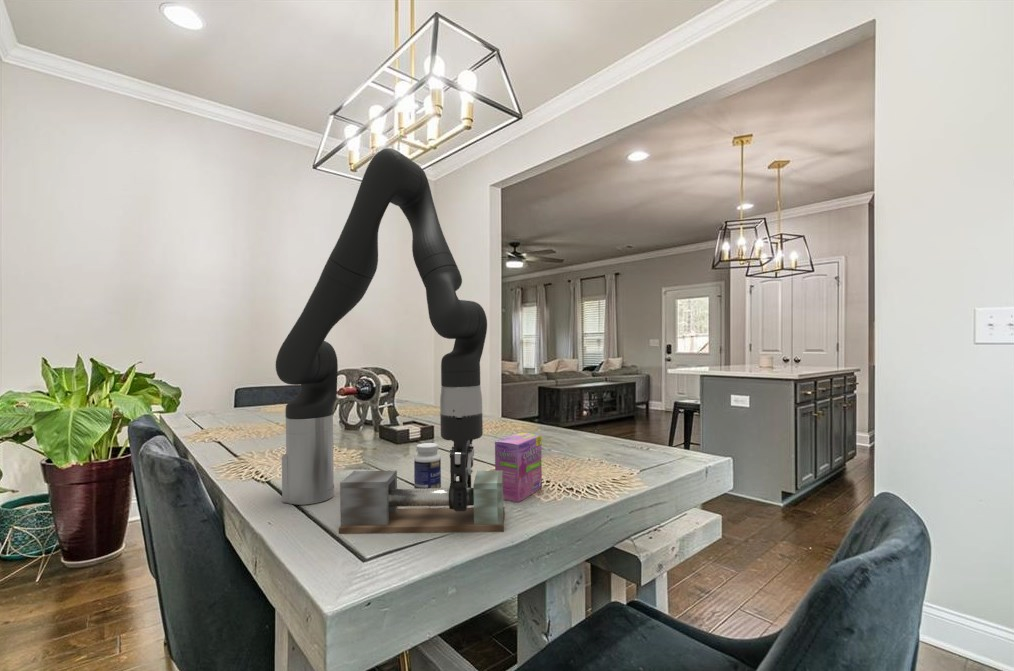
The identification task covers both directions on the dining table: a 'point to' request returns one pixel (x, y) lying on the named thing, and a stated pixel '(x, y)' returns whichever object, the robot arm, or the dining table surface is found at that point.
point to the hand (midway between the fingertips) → (462, 502)
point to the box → (519, 465)
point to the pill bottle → (427, 466)
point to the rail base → (372, 514)
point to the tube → (426, 497)
